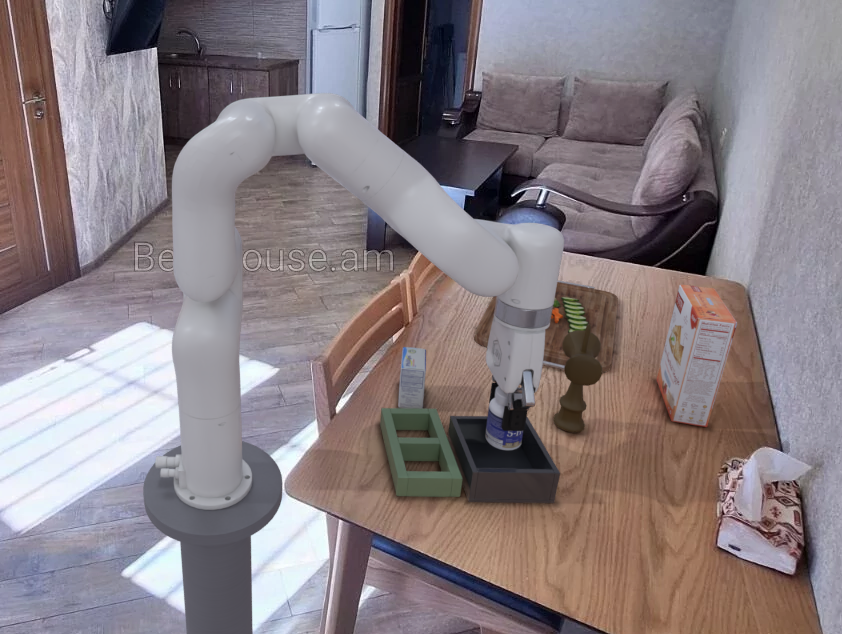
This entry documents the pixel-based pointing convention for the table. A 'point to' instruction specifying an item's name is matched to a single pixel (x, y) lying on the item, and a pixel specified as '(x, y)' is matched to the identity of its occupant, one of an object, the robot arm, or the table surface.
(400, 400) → the medicine box
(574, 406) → the kendama
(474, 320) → the table surface
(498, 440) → the pill bottle
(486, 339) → the chopping board
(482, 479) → the dark grey open bin
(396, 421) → the rack
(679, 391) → the cracker box
